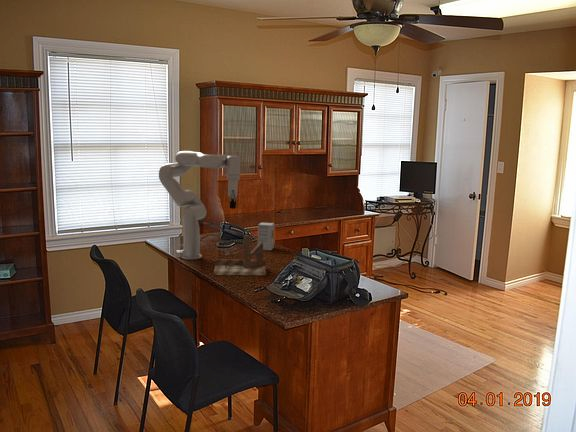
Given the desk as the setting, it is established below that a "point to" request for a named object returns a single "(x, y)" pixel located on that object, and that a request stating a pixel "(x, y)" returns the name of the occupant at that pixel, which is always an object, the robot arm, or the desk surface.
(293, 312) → the desk surface
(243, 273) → the marking board
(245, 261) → the wooden block
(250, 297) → the desk surface
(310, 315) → the desk surface
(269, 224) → the supplement box
